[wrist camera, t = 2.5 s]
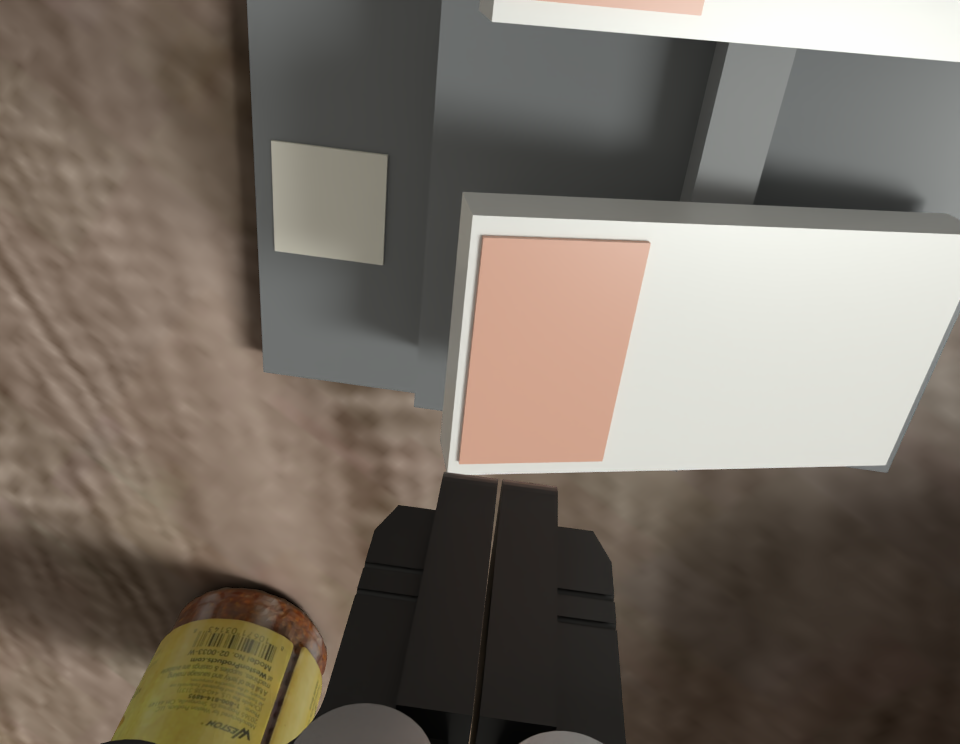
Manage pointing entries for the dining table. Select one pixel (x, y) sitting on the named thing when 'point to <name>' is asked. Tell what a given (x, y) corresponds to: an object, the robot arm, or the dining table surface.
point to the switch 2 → (688, 333)
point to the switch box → (537, 155)
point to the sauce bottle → (230, 674)
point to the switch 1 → (760, 22)
